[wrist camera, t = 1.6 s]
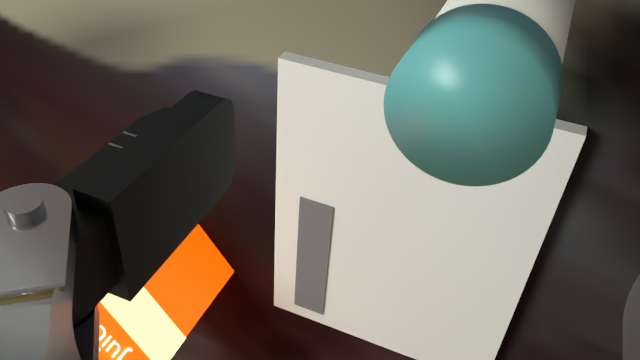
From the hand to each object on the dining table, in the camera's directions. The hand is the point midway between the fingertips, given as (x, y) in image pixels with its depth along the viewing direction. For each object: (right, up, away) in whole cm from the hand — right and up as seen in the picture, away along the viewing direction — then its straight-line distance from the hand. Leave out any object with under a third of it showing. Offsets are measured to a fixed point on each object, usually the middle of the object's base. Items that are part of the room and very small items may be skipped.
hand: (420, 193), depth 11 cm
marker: (+6, +8, +11) cm, 15 cm away
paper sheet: (+2, -3, +21) cm, 22 cm away
